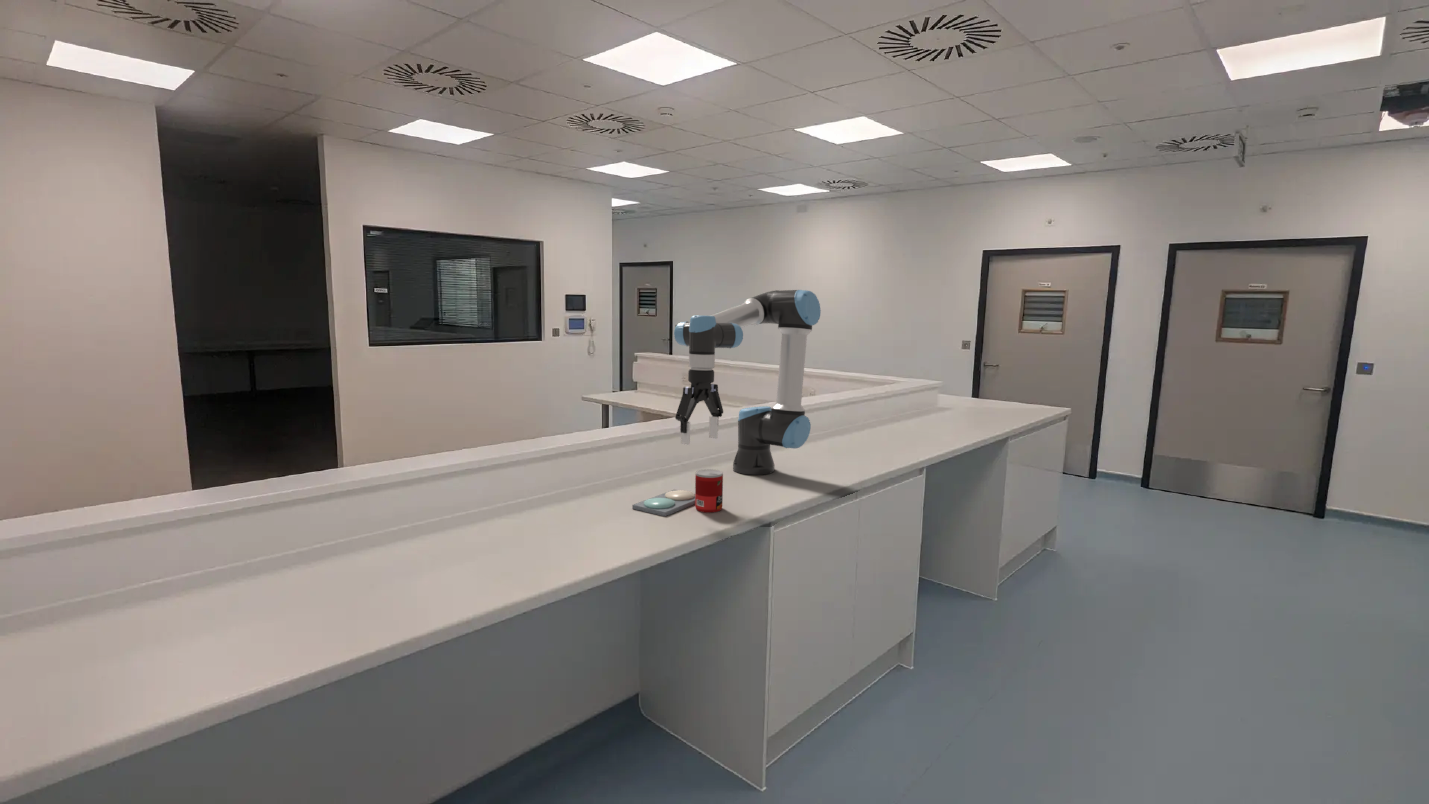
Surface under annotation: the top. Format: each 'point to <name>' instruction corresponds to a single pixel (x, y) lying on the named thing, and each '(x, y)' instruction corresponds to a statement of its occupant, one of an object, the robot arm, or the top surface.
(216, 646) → the top surface
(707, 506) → the canned food
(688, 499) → the board
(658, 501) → the pad
